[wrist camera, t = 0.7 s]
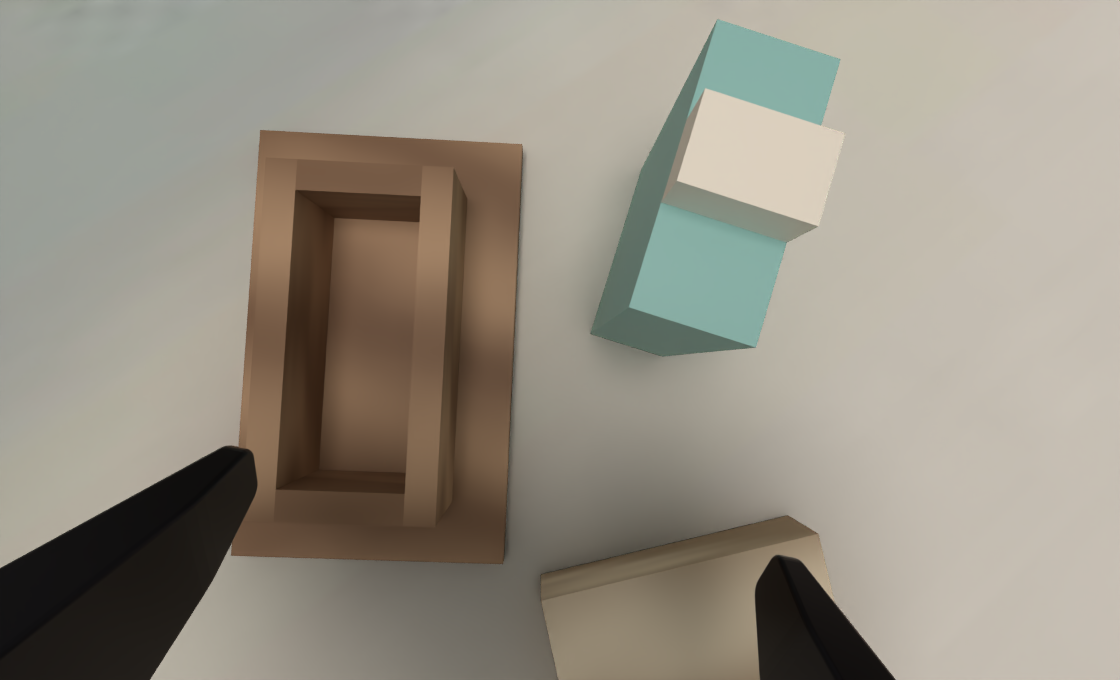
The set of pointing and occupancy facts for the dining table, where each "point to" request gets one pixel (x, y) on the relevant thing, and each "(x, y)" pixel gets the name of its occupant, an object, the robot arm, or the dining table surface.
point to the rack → (380, 348)
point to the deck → (671, 606)
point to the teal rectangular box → (723, 197)
